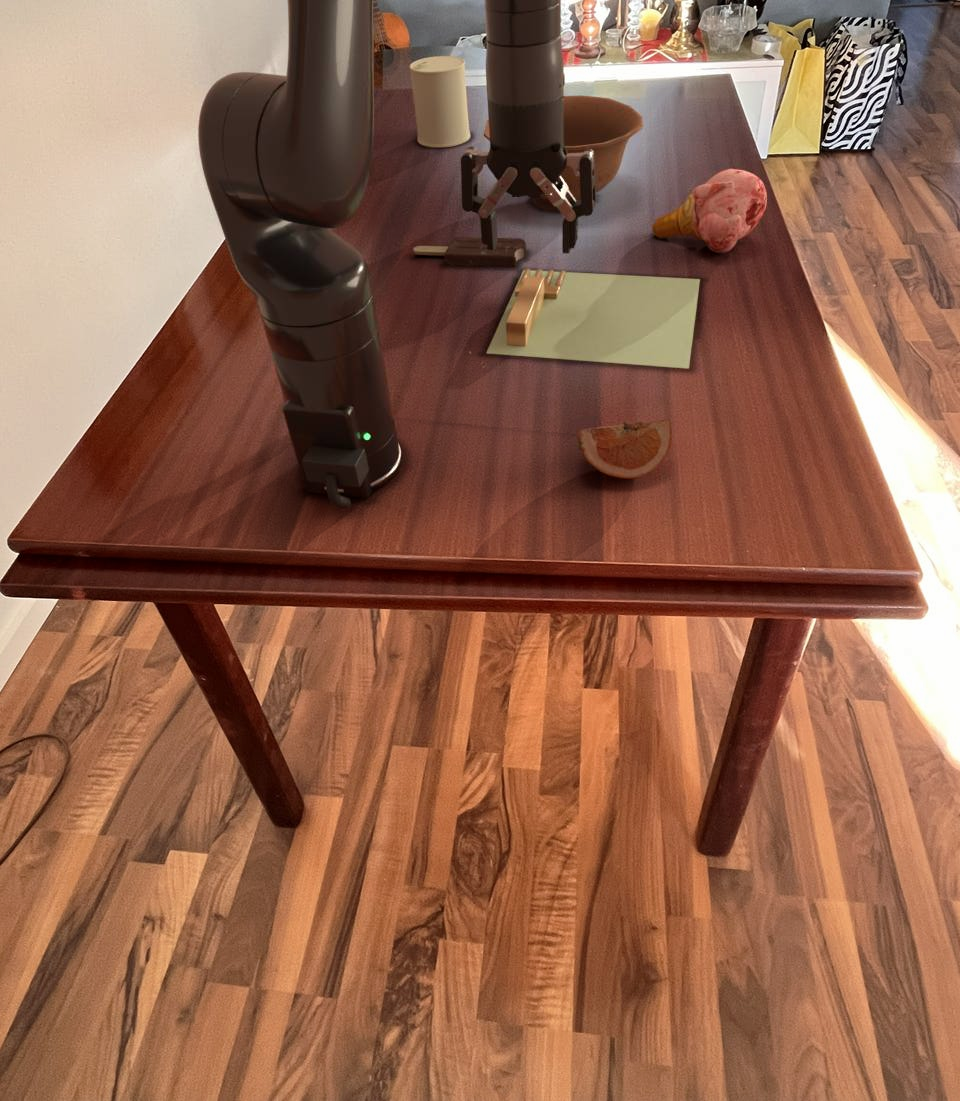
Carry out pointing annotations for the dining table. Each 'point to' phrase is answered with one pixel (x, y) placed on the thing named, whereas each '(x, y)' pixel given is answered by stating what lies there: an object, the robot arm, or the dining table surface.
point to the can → (440, 101)
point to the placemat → (610, 321)
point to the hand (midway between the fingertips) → (529, 248)
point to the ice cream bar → (478, 252)
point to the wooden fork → (529, 304)
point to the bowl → (593, 138)
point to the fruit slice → (626, 447)
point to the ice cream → (718, 211)
